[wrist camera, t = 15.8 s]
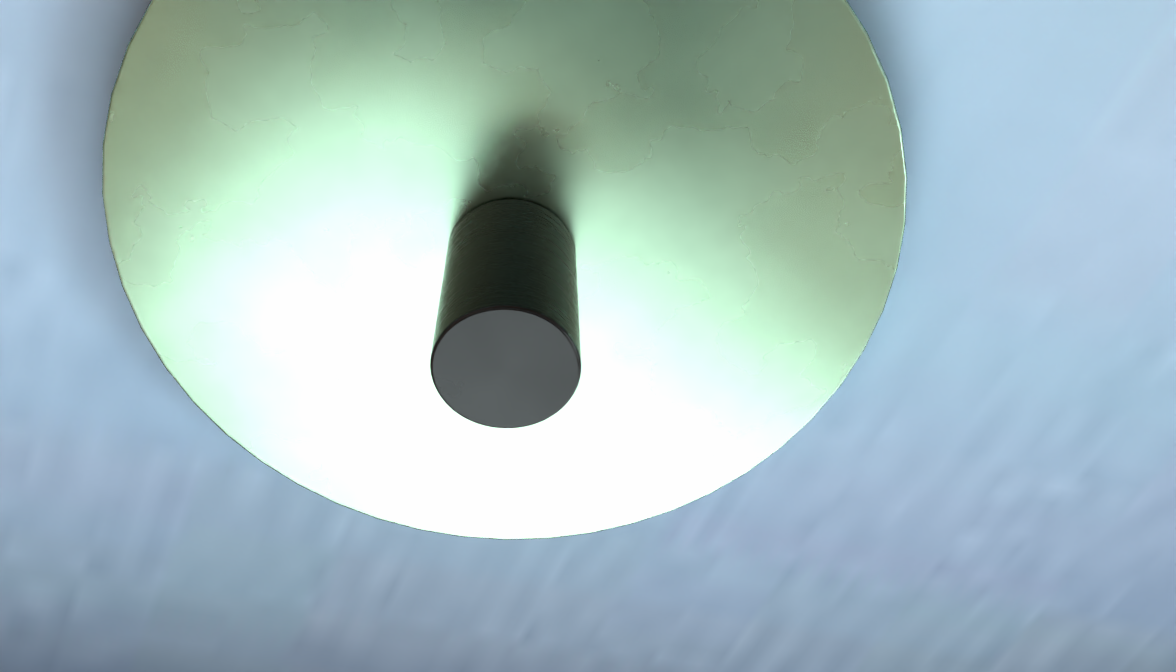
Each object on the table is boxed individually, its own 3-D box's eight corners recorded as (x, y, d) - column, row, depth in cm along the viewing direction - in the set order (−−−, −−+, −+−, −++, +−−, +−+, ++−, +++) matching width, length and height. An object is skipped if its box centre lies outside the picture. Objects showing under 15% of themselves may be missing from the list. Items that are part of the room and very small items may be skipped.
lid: (982, -160, 19) (1111, -95, 14) (817, 515, 27) (867, 678, 23) (37, -217, 18) (-123, -166, 13) (184, 502, 26) (115, 671, 22)
